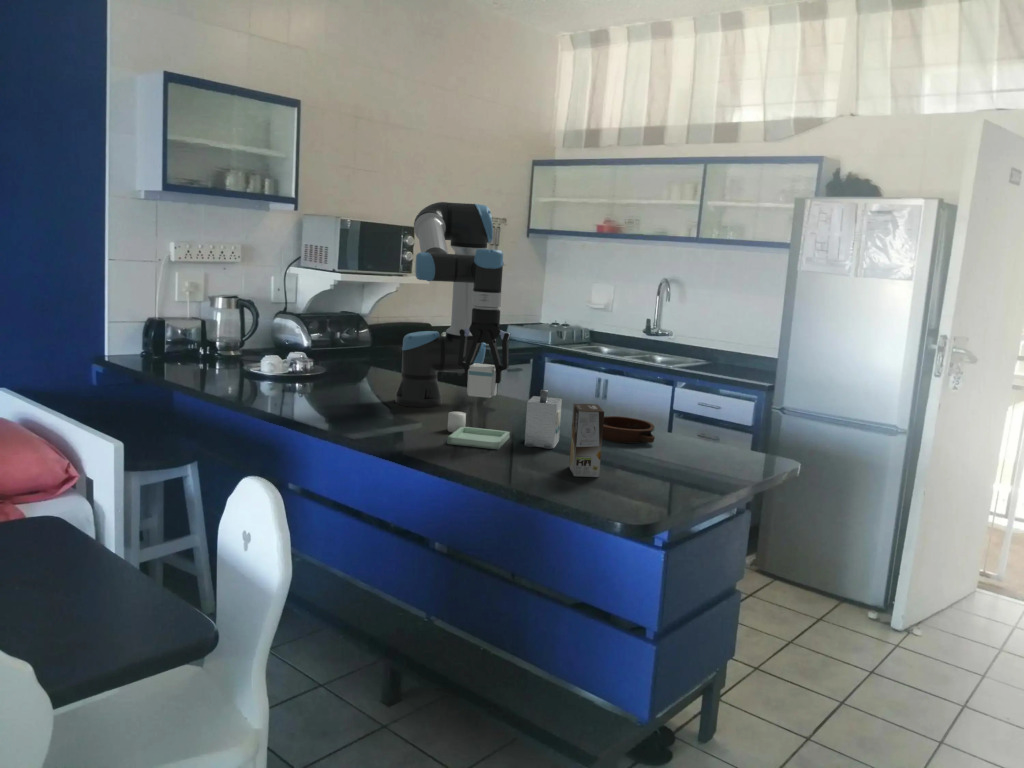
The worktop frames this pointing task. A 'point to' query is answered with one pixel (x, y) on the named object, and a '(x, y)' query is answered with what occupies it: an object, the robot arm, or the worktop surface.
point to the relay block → (480, 380)
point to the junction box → (543, 421)
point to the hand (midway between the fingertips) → (481, 393)
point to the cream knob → (456, 421)
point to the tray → (478, 437)
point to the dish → (627, 430)
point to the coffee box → (586, 440)
